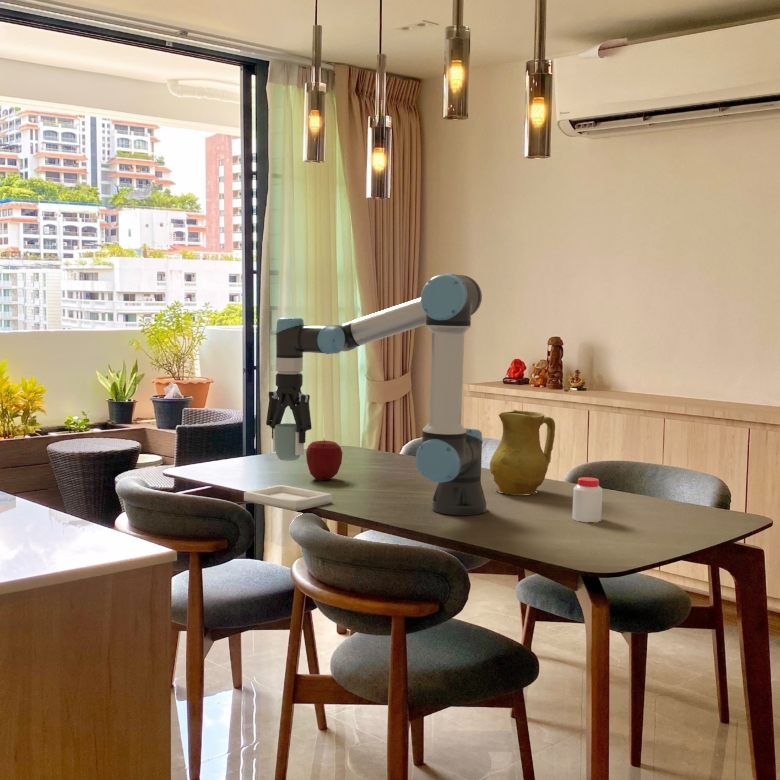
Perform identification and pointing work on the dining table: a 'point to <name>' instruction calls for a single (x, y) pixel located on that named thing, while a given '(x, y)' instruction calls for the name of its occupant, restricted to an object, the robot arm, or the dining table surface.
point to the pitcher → (522, 452)
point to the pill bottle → (587, 500)
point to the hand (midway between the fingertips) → (288, 452)
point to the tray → (288, 497)
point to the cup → (285, 441)
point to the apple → (324, 459)
